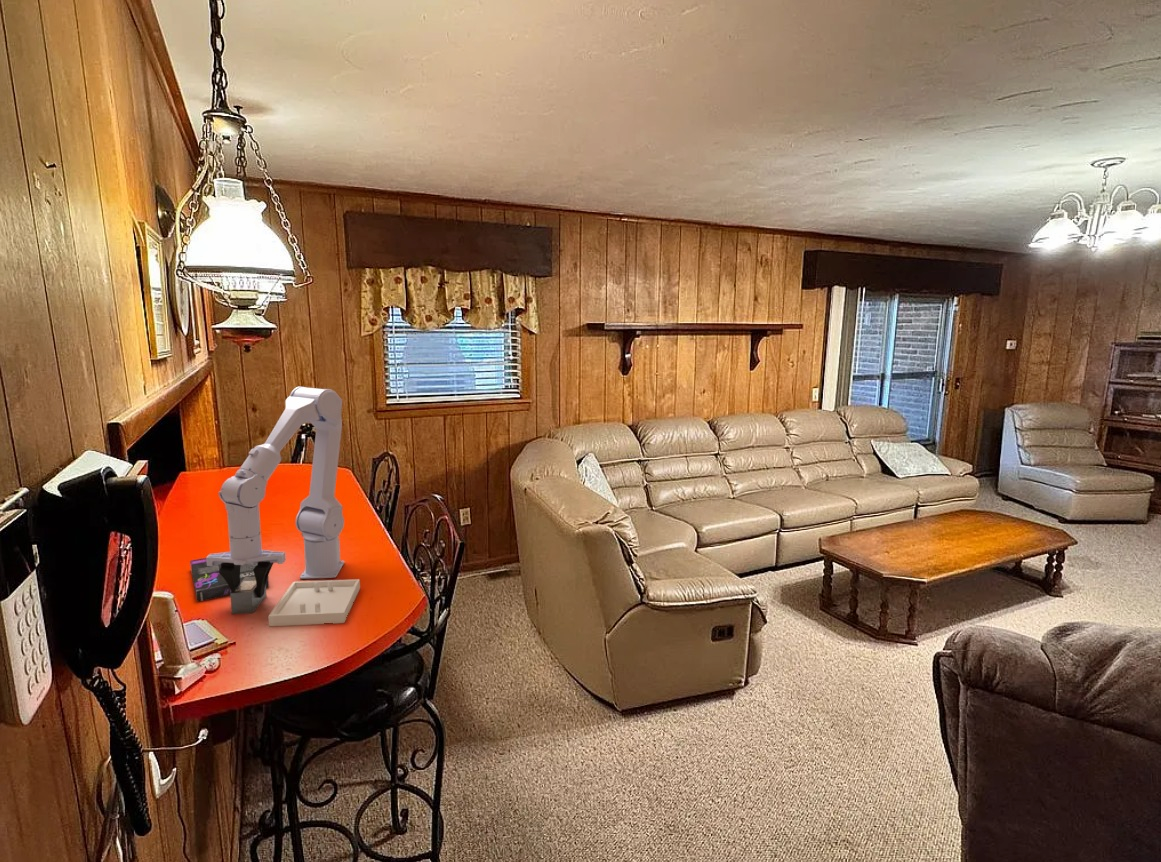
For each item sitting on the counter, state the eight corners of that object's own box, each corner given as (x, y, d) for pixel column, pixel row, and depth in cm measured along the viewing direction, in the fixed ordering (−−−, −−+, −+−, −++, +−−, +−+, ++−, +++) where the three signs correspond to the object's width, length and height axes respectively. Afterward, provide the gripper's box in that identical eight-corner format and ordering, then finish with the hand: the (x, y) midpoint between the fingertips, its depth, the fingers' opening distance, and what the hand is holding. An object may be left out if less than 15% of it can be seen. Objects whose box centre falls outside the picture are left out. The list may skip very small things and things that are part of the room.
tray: (293, 590, 134) (293, 578, 133) (359, 588, 136) (359, 576, 135) (269, 626, 118) (268, 612, 118) (344, 622, 120) (343, 608, 120)
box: (191, 574, 143) (196, 604, 127) (190, 559, 142) (194, 589, 126) (257, 561, 151) (269, 589, 135) (256, 548, 150) (268, 574, 134)
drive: (246, 596, 130) (245, 576, 129) (266, 595, 131) (265, 575, 130) (231, 614, 122) (230, 592, 122) (252, 613, 123) (251, 592, 122)
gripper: (197, 541, 119) (202, 606, 121) (276, 540, 121) (279, 603, 124) (213, 529, 126) (217, 591, 128) (287, 528, 128) (290, 588, 130)
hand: (249, 596), depth 126 cm, fingers closed on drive, 4 cm apart
